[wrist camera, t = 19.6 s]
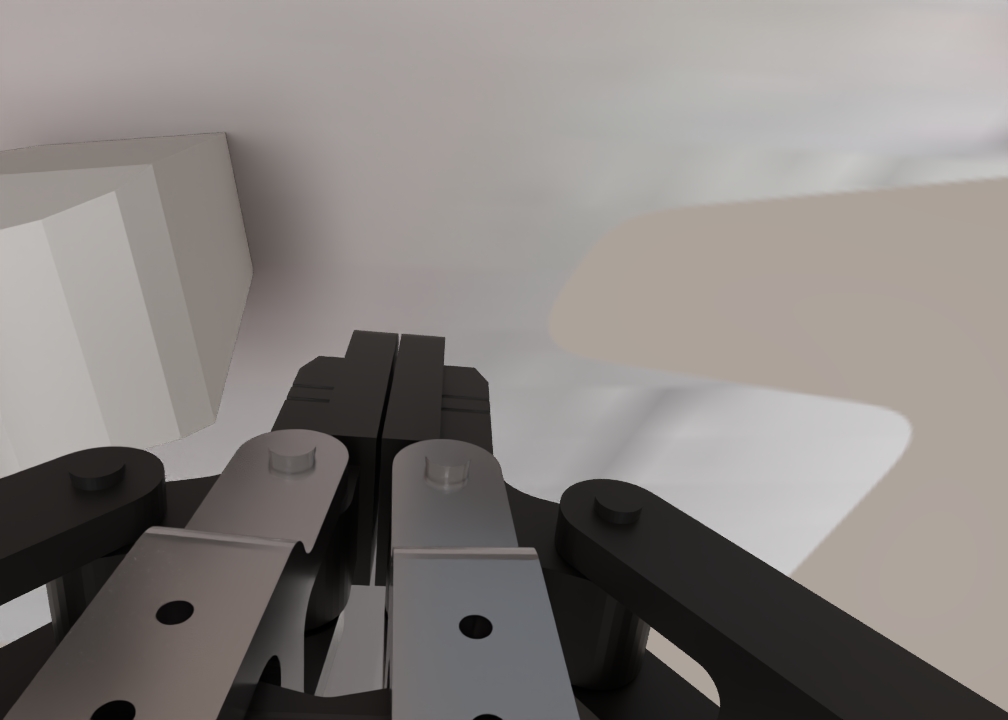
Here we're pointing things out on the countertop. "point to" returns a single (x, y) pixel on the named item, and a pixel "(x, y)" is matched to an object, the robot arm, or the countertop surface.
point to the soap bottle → (116, 293)
